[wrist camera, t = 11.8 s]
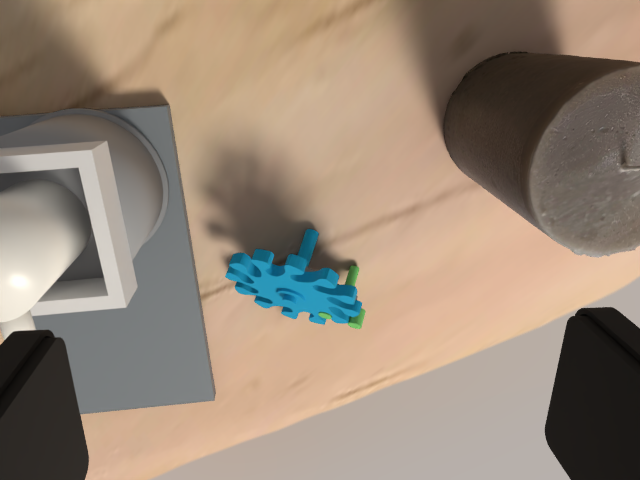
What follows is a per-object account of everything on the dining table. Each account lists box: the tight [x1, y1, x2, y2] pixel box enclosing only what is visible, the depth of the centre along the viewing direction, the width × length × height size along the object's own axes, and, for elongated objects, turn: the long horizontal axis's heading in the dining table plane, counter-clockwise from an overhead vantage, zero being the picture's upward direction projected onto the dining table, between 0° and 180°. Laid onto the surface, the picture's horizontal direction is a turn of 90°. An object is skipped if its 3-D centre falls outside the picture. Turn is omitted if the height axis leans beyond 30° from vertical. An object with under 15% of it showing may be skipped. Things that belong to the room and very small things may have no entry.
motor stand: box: [0, 105, 216, 414], centre depth 34 cm, size 24×14×12 cm, turn 3°
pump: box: [0, 179, 91, 341], centre depth 26 cm, size 7×5×6 cm
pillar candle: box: [444, 52, 640, 257], centre depth 31 cm, size 10×10×15 cm
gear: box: [225, 229, 365, 329], centre depth 38 cm, size 11×6×10 cm
